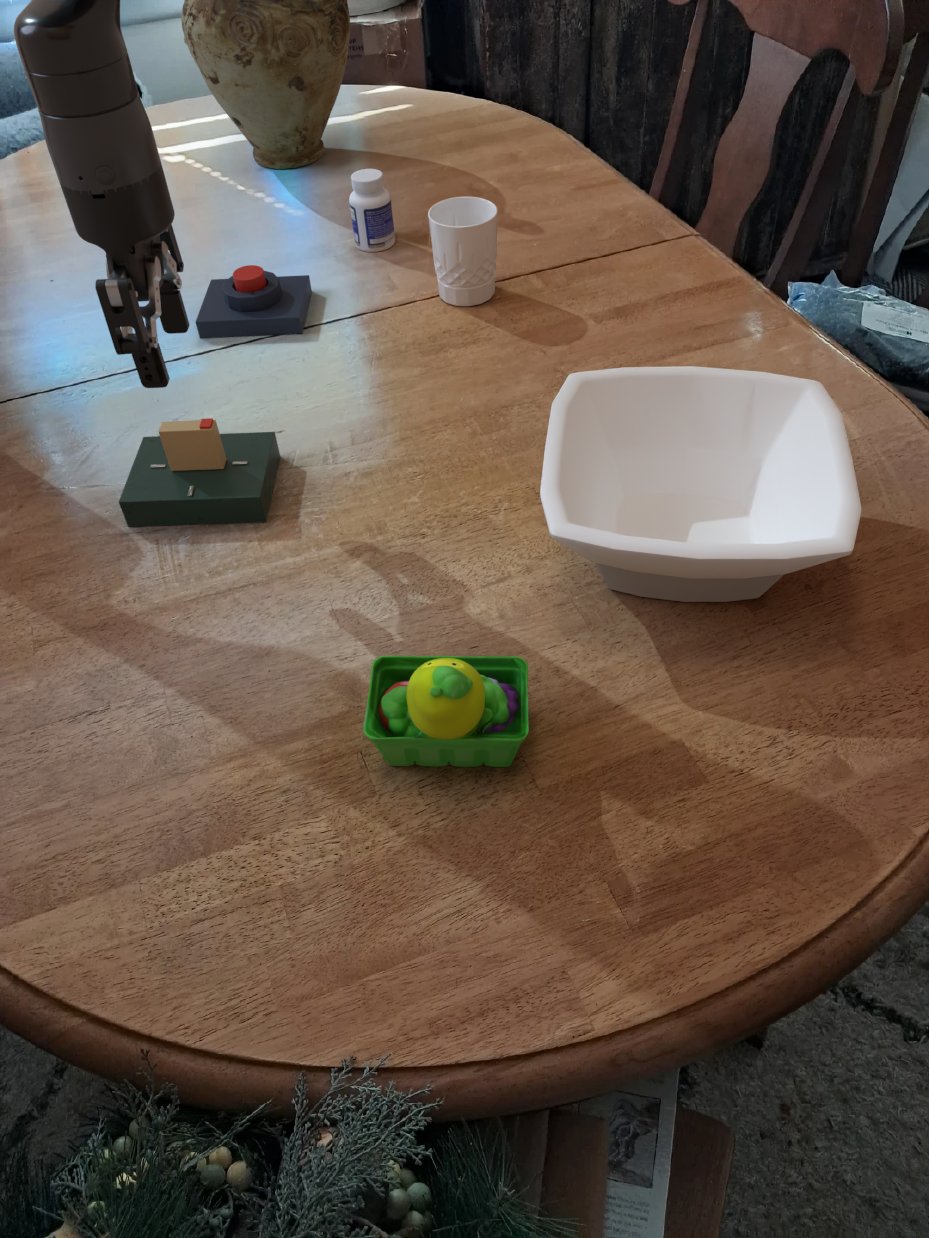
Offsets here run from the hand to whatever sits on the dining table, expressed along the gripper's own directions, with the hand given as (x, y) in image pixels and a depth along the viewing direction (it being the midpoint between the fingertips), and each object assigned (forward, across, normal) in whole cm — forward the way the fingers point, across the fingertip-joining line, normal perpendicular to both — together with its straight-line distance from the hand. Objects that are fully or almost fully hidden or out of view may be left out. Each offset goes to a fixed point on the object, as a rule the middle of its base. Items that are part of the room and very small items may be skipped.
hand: (167, 357), depth 85 cm
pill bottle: (+15, -50, +13) cm, 54 cm away
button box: (+14, -33, 0) cm, 36 cm away
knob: (+11, 0, 0) cm, 11 cm away
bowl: (+15, +10, +44) cm, 47 cm away
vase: (+15, -80, -2) cm, 81 cm away
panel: (+14, 0, 0) cm, 15 cm away
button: (+11, -33, 0) cm, 35 cm away
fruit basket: (+15, +31, +24) cm, 42 cm away
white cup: (+15, -36, +25) cm, 46 cm away
